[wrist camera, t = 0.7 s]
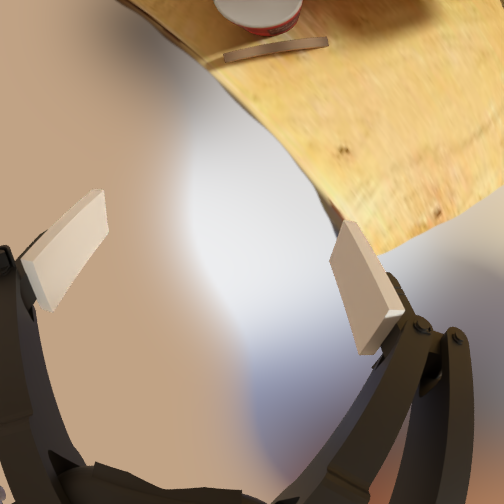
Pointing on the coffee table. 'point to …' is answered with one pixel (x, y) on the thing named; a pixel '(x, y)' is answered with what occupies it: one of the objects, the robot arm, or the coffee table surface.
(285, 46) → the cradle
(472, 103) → the coffee table surface
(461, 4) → the coffee table surface
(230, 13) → the canned food
